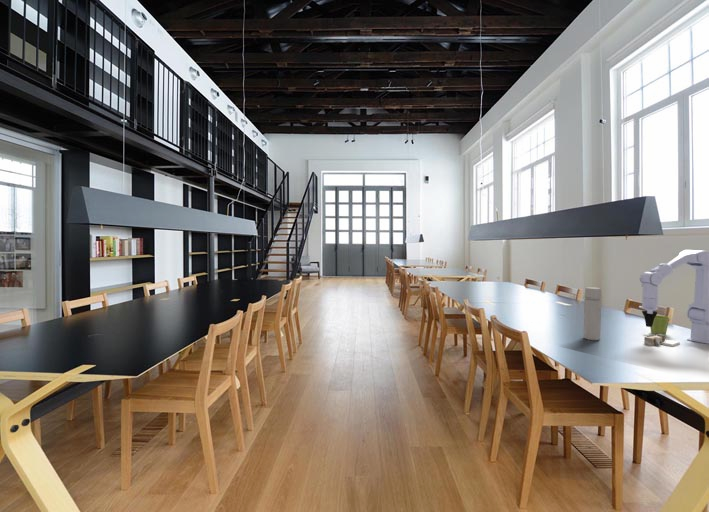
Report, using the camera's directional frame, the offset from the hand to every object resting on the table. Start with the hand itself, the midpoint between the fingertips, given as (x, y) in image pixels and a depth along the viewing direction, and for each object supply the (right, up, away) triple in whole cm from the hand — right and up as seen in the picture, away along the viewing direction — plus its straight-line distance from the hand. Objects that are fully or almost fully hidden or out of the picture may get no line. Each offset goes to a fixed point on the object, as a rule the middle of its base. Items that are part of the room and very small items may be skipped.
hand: (649, 326), depth 183 cm
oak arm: (+3, -8, 0) cm, 8 cm away
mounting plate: (+9, -8, -2) cm, 12 cm away
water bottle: (-22, -8, +9) cm, 25 cm away
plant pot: (+19, -7, +18) cm, 27 cm away
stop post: (+1, -8, -3) cm, 9 cm away
